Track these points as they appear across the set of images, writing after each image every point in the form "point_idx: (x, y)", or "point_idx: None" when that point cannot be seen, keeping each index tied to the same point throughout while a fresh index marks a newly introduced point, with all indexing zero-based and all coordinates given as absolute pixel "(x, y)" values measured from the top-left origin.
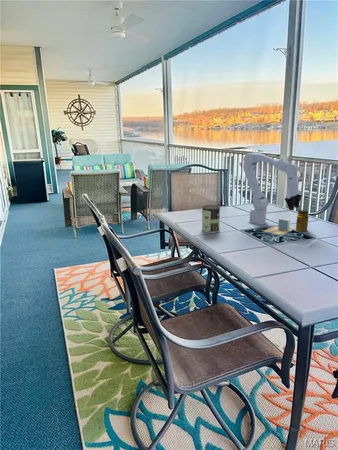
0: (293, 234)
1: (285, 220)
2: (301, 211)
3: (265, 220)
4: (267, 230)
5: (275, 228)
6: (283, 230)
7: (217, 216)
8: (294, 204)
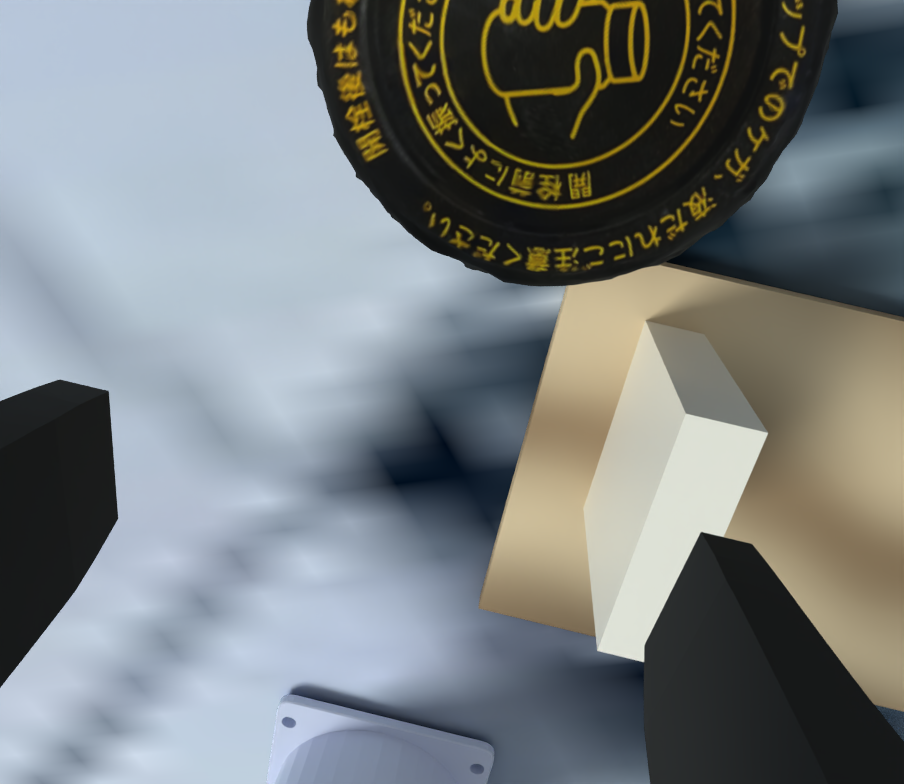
0: (883, 182)
1: (727, 506)
2: (641, 124)
3: (359, 768)
4: (836, 653)
5: None
6: None
7: None
8: (21, 626)
